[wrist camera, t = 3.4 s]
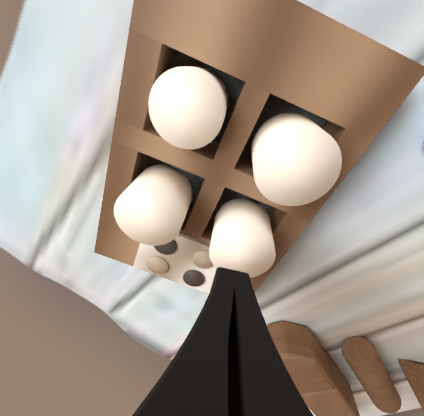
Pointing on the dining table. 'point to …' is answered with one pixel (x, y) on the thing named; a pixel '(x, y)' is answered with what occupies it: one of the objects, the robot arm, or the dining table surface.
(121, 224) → the button
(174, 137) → the button
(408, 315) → the dining table surface
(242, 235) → the button
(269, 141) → the button
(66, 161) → the dining table surface
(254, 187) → the button board
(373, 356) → the wooden block set
